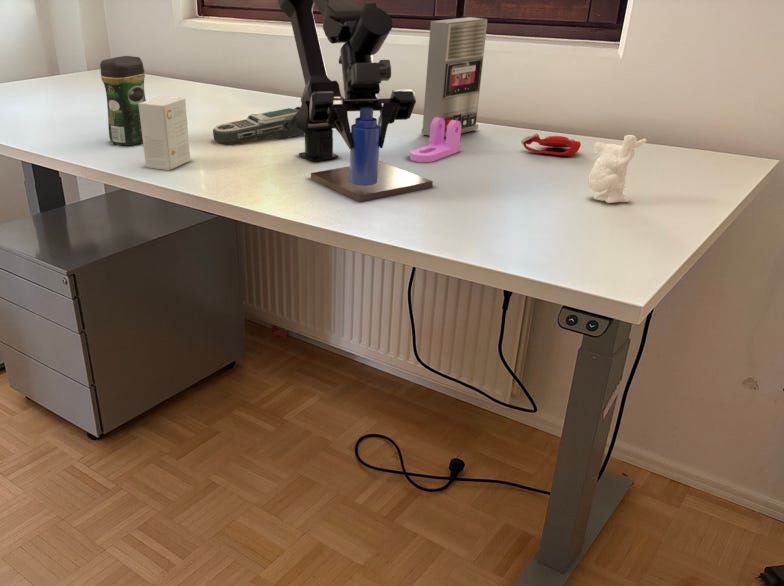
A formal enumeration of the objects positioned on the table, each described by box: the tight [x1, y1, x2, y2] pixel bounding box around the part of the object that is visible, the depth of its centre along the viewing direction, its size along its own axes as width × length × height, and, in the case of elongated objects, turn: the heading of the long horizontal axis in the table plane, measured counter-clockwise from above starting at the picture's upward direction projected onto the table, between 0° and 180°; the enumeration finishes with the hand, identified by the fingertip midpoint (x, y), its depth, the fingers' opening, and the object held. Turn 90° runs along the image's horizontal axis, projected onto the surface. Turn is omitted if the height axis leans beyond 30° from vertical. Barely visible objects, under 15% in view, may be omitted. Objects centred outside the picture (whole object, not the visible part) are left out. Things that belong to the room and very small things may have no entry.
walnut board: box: [310, 160, 434, 203], centre depth 145 cm, size 17×17×1 cm
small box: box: [138, 95, 191, 171], centre depth 154 cm, size 8×6×13 cm
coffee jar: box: [99, 55, 147, 146], centre depth 169 cm, size 10×8×19 cm
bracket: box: [409, 117, 462, 163], centre depth 161 cm, size 13×6×7 cm, turn 139°
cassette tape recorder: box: [420, 16, 489, 138], centre depth 174 cm, size 14×6×25 cm, turn 129°
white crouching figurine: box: [588, 134, 647, 204], centre depth 132 cm, size 8×7×12 cm
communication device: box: [212, 106, 305, 145], centre depth 176 cm, size 12×24×9 cm, turn 117°
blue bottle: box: [349, 107, 381, 186], centre depth 134 cm, size 5×5×13 cm
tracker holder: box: [520, 133, 582, 157], centre depth 163 cm, size 12×4×10 cm
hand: (366, 147), depth 132 cm, fingers closed on blue bottle, 5 cm apart
